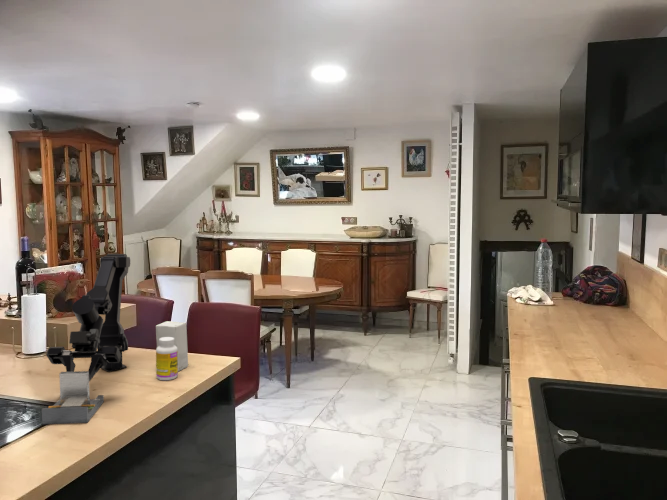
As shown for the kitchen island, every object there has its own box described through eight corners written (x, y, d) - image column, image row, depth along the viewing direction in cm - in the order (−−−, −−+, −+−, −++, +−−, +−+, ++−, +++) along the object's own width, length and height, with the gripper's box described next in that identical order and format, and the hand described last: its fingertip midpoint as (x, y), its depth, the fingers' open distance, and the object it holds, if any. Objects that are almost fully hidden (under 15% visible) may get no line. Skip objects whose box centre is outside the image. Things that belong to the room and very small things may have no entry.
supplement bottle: (171, 381, 167) (170, 342, 165) (152, 380, 168) (151, 340, 167) (181, 374, 173) (181, 336, 172) (163, 373, 175) (162, 335, 173)
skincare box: (188, 366, 181) (188, 322, 180) (177, 372, 175) (176, 326, 174) (168, 363, 184) (167, 320, 183) (156, 369, 178) (155, 324, 176)
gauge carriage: (53, 407, 143) (52, 372, 142) (98, 406, 144) (97, 370, 143) (47, 414, 139) (46, 377, 138) (93, 412, 140) (92, 376, 139)
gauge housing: (62, 403, 149) (62, 389, 148) (103, 401, 150) (103, 388, 150) (42, 424, 135) (41, 409, 134) (87, 422, 136) (86, 407, 136)
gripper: (47, 319, 147) (31, 370, 137) (117, 318, 150) (106, 368, 140) (59, 338, 156) (45, 388, 146) (125, 337, 158) (115, 386, 148)
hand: (77, 382), depth 145 cm, fingers open, 4 cm apart
